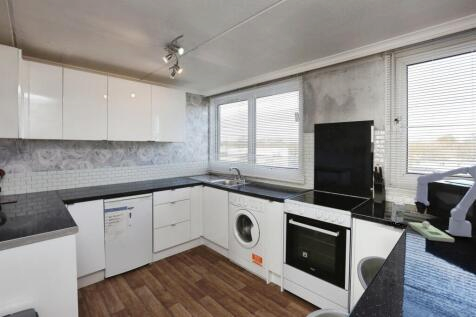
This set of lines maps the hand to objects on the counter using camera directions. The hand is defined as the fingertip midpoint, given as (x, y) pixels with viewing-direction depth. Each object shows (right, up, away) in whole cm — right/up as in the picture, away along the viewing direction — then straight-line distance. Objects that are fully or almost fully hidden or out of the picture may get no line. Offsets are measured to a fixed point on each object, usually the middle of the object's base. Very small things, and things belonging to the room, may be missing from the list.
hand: (420, 213), depth 153 cm
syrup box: (-11, -9, +7) cm, 16 cm away
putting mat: (-3, -10, -10) cm, 14 cm away
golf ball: (-2, -6, -6) cm, 9 cm away
